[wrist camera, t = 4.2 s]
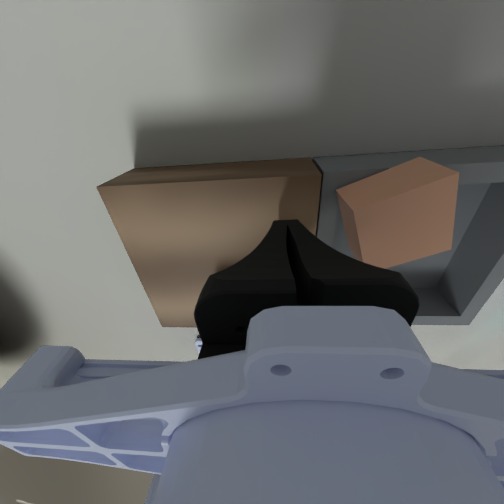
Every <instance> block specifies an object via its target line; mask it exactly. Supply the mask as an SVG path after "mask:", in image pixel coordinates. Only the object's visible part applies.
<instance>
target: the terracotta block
mask: <svg viewBox="0 0 504 504" xmlns="http://www.w3.org/2000/svg"><path fill="white" fill-rule="evenodd" d="M458 181H459V172H457V171H455V170H452V169H450V168H447V167H445V166H442V165H440V164H437V163H435V162H432V161H430V160H427V159H425V158H422V157H418V158H415V159H413V160H410V161H408V162H405V163H402V164H400V165H397V166H395V167H392V168H390V169H387V170H385V171H382V172H380V173H377V174H375V175H372V176H370V177H367V178H364V179H362V180H359V181H357V182H354V183H352V184H349V185H347V186H344V187H342V188H339V189H337V190H336V193H337V198H338V202H339V206H340V211H341V215H342V219H343V224H344V228H345V232H346V237H347V241H348V245H349V248H350V250H351V251H352V253H353V255H354V256H355V258H356V260H359V261H361V262H364V263H367V264H370V265H373V266H376V267H380V268H384V269H386V268H389V267H393V266H396V265H399V264H403V263H406V262H410V261H413V260H416V259H420V258H423V257H427V256H430V255H434V254H437V253H440V252H444V251H447V250H451V248H452V238H453V228H454V219H455V209H456V200H457V190H458Z"/></svg>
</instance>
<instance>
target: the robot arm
mask: <svg viewBox="0 0 504 504" xmlns="http://www.w3.org/2000/svg"><path fill="white" fill-rule="evenodd" d="M419 306H420V304H419V297H418V296H417V295H416V293H415V292H414V290H413V289H412V287H411V286H410V285H409V283H408V282H407V281H406V279H405V278H404V277H403V276H402V275H401V274H400V272H396V271H392V270H388V269H384V268H380V267H376V266H373V265H370V264H367V263H364V262H361V261H359V260H356V259H354V258H351V257H349V256H347V255H345V254H343V253H341V252H339V251H337V250H335V249H333V248H332V247H330V246H328V245H327V244H325V243H324V242H322V241H321V240H320V239H318V238H317V237H316V236H315V235H313V234H312V233H311V232H310V231H309V230H308V229H307V228H306V227H305V226H304V225H303V224H302V223H301V222H300V221H299V220H298V219H293V220H274V221H273V222H272V225H271V227H270V229H269V231H268V232H267V234H266V236H265V237H264V238H263V240H262V241H261V242H260V243H259V245H258V246H257V247H256V248H255V249H254V250H253V251H252V252H251V253H250V254H248V255H247V256H246V257H244V258H243V259H242V260H240V261H239V262H237V263H235V264H234V265H232V266H230V267H228V268H226V269H224V270H222V271H219V272H217V273H215V274H212V275H210V276H209V277H208V279H207V281H206V283H205V284H204V286H203V288H202V290H201V293H200V295H199V298H198V301H197V304H196V306H195V310H194V319H195V323H196V326H197V328H198V331H199V334H200V337H201V338H197V339H196V341H195V344H196V347H197V350H198V353H199V357H198V359H197V360H192V361H187V362H170V361H132V360H94V359H85V358H84V356H83V355H82V353H81V352H80V351H79V350H77V349H76V348H73V347H70V346H40V347H39V349H38V350H37V351H36V352H35V353H34V354H33V355H32V356H31V357H30V358H29V359H28V360H27V361H26V362H25V363H24V364H23V366H22V367H21V368H20V369H19V370H18V371H17V372H16V373H15V374H14V375H13V376H12V377H11V378H10V379H9V380H8V382H7V383H6V384H5V385H4V386H3V387H2V388H1V389H0V444H2V445H4V446H6V447H8V448H10V449H12V450H14V451H16V452H18V453H20V454H23V455H25V456H35V457H46V458H56V459H64V460H72V461H79V462H86V463H92V464H99V465H106V466H112V467H118V468H124V469H131V470H136V471H142V472H148V473H154V475H153V478H152V481H151V484H150V487H149V490H148V494H147V497H146V500H145V503H144V504H504V370H472V369H458V368H454V367H450V366H445V365H441V364H437V363H433V362H431V360H430V358H429V357H428V355H427V354H426V352H425V350H424V349H423V347H422V346H421V344H420V342H419V341H418V339H417V337H416V336H415V334H414V333H413V331H412V329H411V328H410V327H411V325H412V323H413V321H414V319H415V317H416V315H417V313H418V309H419Z"/></svg>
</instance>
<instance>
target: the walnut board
mask: <svg viewBox="0 0 504 504" xmlns="http://www.w3.org/2000/svg"><path fill="white" fill-rule="evenodd" d="M321 177H322V174H321V173H320V171H319V170H318V169H317V167H316V166H315V164H314V163H313V161H312V160H311V159H310V158H296V159H280V160H264V161H247V162H231V163H215V164H199V165H183V166H167V167H151V168H135V169H132V170H130V171H128V172H126V173H124V174H122V175H120V176H118V177H116V178H114V179H112V180H110V181H107V182H105V183H103V184H101V185H99V186H97V189H98V191H99V193H100V195H101V198H102V200H103V202H104V204H105V206H106V208H107V210H108V213H109V215H110V217H111V219H112V221H113V223H114V225H115V227H116V230H117V232H118V234H119V236H120V238H121V240H122V242H123V244H124V247H125V249H126V251H127V253H128V255H129V257H130V259H131V262H132V264H133V266H134V268H135V270H136V272H137V274H138V276H139V279H140V281H141V283H142V285H143V287H144V289H145V291H146V293H147V296H148V298H149V300H150V302H151V304H152V306H153V308H154V310H155V313H156V315H157V317H158V319H159V321H160V323H161V325H162V327H197V326H196V323H195V319H194V310H195V306H196V304H197V301H198V298H199V295H200V293H201V290H202V288H203V286H204V284H205V283H206V281H207V279H208V277H209V276H210V275H212V274H215V273H217V272H219V271H222V270H224V269H226V268H228V267H230V266H232V265H234V264H235V263H237V262H239V261H240V260H242V259H243V258H244V257H246V256H247V255H248V254H250V253H251V252H252V251H253V250H254V249H255V248H256V247H257V246H258V245H259V243H260V242H261V241H262V240H263V238H264V237H265V236H266V234H267V232H268V231H269V229H270V227H271V225H272V222H273V221H274V220H293V219H298V220H299V221H300V222H301V223H302V224H303V225H304V226H305V227H306V228H307V229H308V230H309V231H310V232H311V233H312V234H313V235H315V236H316V227H317V217H318V207H319V197H320V187H321Z"/></svg>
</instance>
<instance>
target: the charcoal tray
mask: <svg viewBox="0 0 504 504" xmlns="http://www.w3.org/2000/svg"><path fill="white" fill-rule="evenodd" d="M418 157H422V158H425V159H427V160H430V161H432V162H435V163H437V164H440V165H442V166H445V167H447V168H450V169H452V170H455V171H457V172H459V181H458V190H457V200H456V209H455V219H454V228H453V238H452V248H451V250H447V251H444V252H440V253H437V254H434V255H430V256H427V257H423V258H420V259H416V260H413V261H410V262H406V263H403V264H399V265H396V266H393V267H389V268H386V269H388V270H392V271H396V272H400V274H401V275H402V276H403V277H404V278H405V279H406V281H407V282H408V283H409V285H410V286H411V287H412V289H413V290H414V292H415V293H416V295H417V296H418V297H419V304H420V306H419V309H418V313H417V315H416V317H415V319H414V321H413V323H412V325H469V324H470V323H471V322H472V320H473V319H474V318H475V316H476V315H477V313H478V312H479V311H480V309H481V308H482V307H483V305H484V304H485V303H486V301H487V300H488V299H489V297H490V296H491V294H492V293H493V292H494V290H495V289H496V288H497V286H498V285H499V284H500V282H501V281H502V280H503V278H504V146H488V147H472V148H456V149H440V150H424V151H408V152H392V153H376V154H360V155H344V156H328V157H313V163H314V164H315V166H316V167H317V169H318V170H319V171H320V173H321V174H322V177H321V187H320V197H319V207H318V217H317V227H316V237H317V238H318V239H320V240H321V241H322V242H324V243H325V244H327V245H328V246H330V247H332V248H333V249H335V250H337V251H339V252H341V253H343V254H345V255H347V256H349V257H351V258H354V259H356V258H355V256H354V255H353V253H352V251H351V250H350V248H349V245H348V241H347V237H346V232H345V228H344V224H343V219H342V215H341V211H340V206H339V202H338V198H337V193H336V190H337V189H339V188H342V187H344V186H347V185H349V184H352V183H354V182H357V181H359V180H362V179H364V178H367V177H370V176H372V175H375V174H377V173H380V172H382V171H385V170H387V169H390V168H392V167H395V166H397V165H400V164H402V163H405V162H408V161H410V160H413V159H415V158H418Z"/></svg>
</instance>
